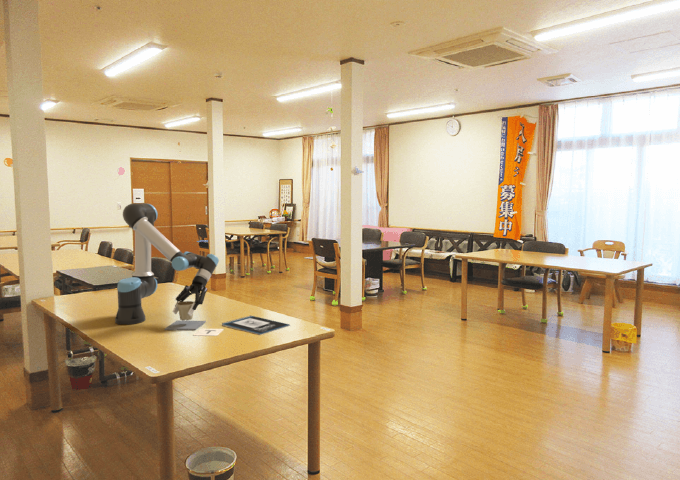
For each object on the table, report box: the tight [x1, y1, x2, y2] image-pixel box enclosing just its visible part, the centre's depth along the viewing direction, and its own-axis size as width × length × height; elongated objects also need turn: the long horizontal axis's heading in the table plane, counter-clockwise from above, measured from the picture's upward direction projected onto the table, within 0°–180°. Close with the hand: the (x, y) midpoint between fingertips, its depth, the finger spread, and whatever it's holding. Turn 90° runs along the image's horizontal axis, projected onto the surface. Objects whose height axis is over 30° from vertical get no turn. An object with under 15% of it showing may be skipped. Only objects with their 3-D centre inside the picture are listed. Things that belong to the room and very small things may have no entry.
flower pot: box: [175, 300, 195, 321], centre depth 241 cm, size 9×9×9 cm
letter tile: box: [192, 328, 225, 337], centre depth 230 cm, size 12×12×1 cm
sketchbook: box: [221, 315, 291, 336], centre depth 243 cm, size 22×30×2 cm
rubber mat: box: [164, 319, 207, 331], centre depth 242 cm, size 16×16×1 cm
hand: (181, 313), depth 238 cm, fingers closed on flower pot, 9 cm apart
